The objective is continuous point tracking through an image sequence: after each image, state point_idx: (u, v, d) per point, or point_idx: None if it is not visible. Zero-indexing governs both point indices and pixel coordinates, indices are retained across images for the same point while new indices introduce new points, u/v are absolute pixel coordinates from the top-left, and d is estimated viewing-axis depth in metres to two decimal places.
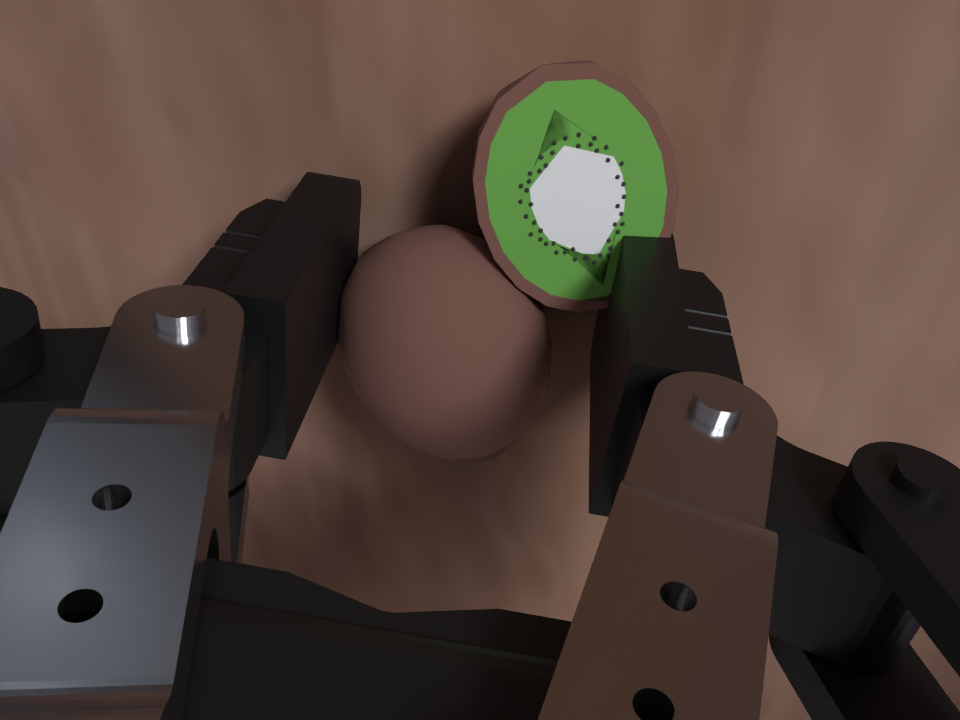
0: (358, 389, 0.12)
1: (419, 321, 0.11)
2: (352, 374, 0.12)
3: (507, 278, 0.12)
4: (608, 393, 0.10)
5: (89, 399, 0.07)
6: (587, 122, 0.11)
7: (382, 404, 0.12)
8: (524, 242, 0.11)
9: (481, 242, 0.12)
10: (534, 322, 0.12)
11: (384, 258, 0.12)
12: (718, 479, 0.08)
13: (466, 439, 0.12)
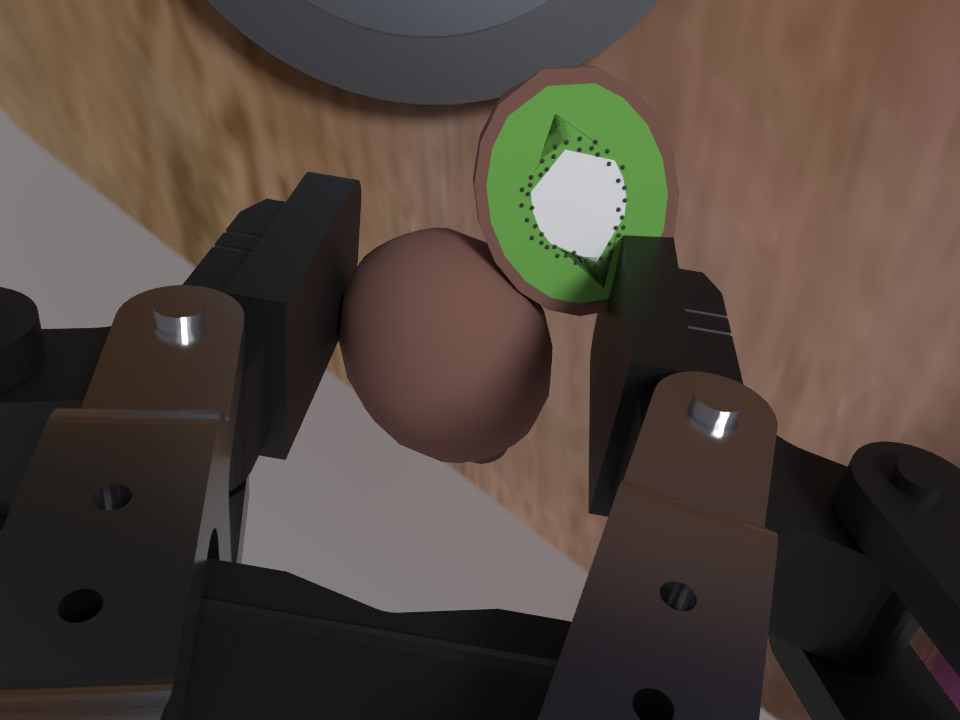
0: (359, 392, 0.12)
1: (420, 324, 0.11)
2: (354, 377, 0.12)
3: (508, 282, 0.12)
4: (608, 393, 0.10)
5: (89, 397, 0.07)
6: (588, 126, 0.11)
7: (383, 407, 0.12)
8: (525, 245, 0.11)
9: (482, 245, 0.12)
10: (535, 325, 0.12)
11: (385, 262, 0.12)
12: (717, 479, 0.08)
13: (467, 442, 0.12)
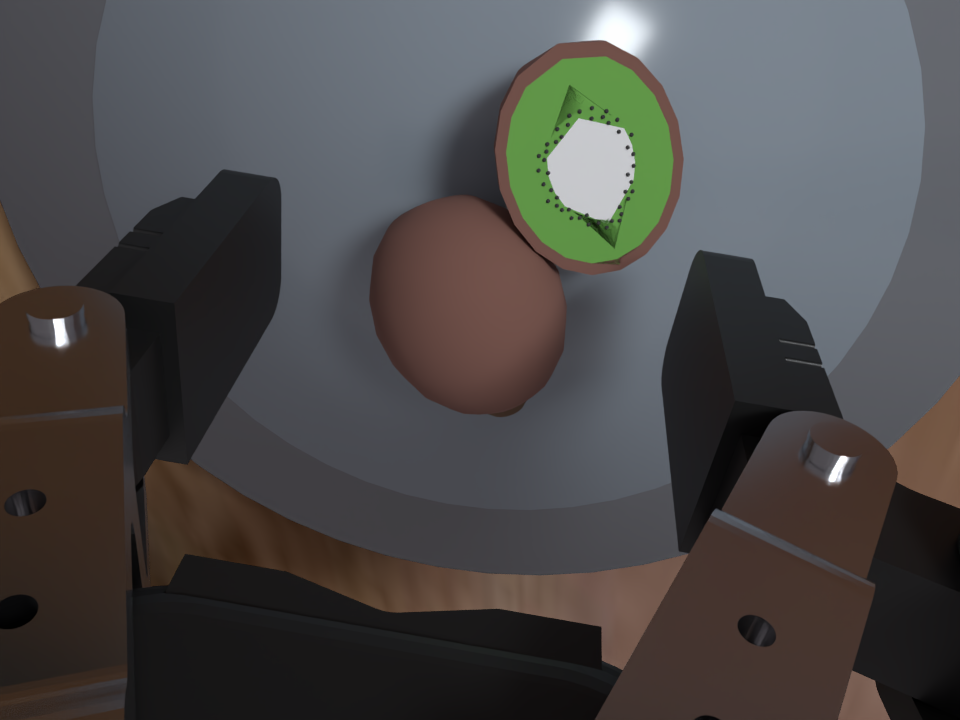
0: (389, 347, 0.13)
1: (446, 281, 0.12)
2: (383, 333, 0.13)
3: (527, 243, 0.13)
4: (698, 427, 0.10)
5: None
6: (599, 96, 0.12)
7: (411, 360, 0.13)
8: (542, 208, 0.12)
9: (502, 210, 0.13)
10: (551, 283, 0.13)
11: (413, 224, 0.13)
12: (821, 523, 0.07)
13: (489, 392, 0.13)
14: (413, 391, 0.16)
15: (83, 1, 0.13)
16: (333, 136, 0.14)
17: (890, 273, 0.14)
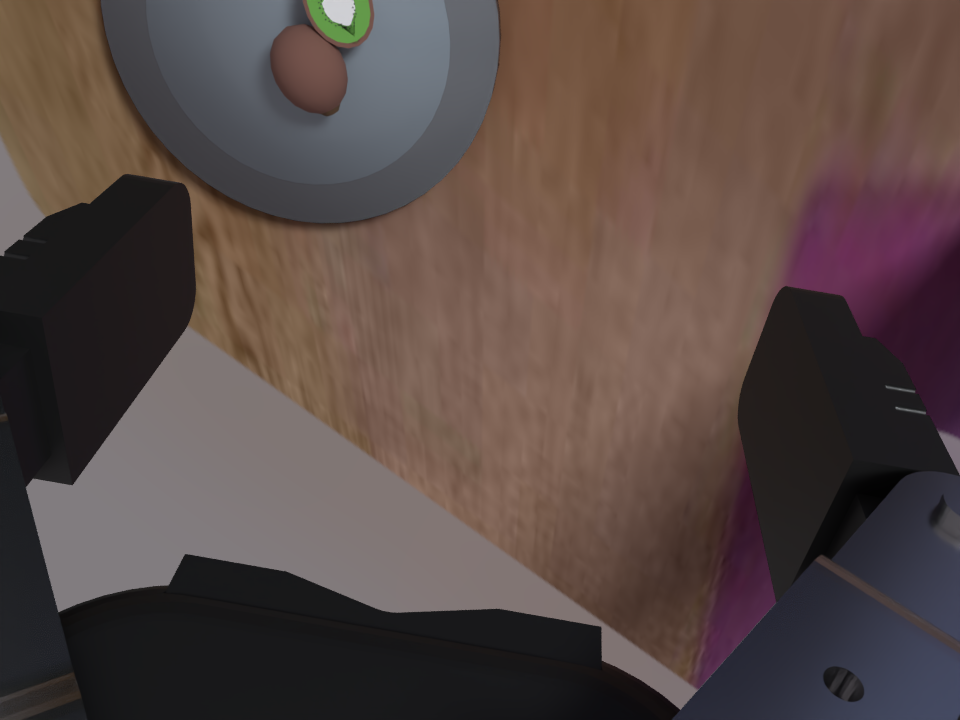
0: (278, 83, 0.36)
1: (292, 50, 0.35)
2: (276, 78, 0.36)
3: (321, 37, 0.35)
4: (797, 479, 0.10)
5: None
6: None
7: (286, 86, 0.36)
8: (324, 22, 0.35)
9: (313, 27, 0.36)
10: (333, 52, 0.36)
11: (281, 34, 0.35)
12: (942, 590, 0.07)
13: (315, 96, 0.36)
14: (276, 123, 0.39)
15: None
16: (236, 9, 0.37)
17: (448, 61, 0.37)
